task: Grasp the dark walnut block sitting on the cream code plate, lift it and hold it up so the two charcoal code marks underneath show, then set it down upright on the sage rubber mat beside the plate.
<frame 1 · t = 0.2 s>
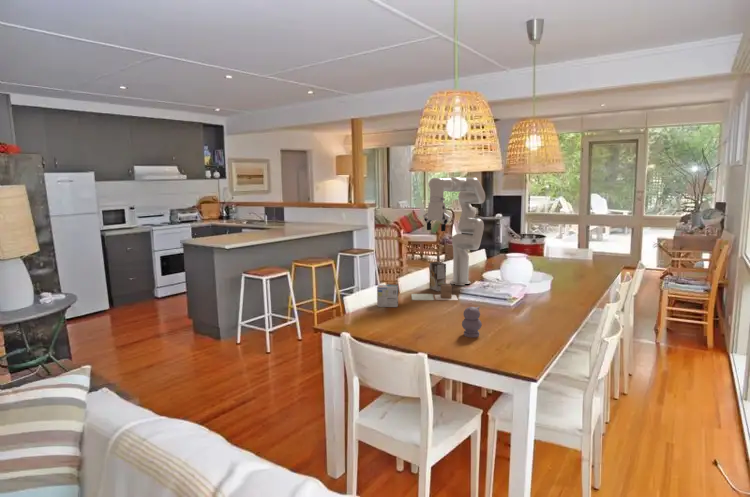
hand: (436, 230, 260), 37 cm above the table, tool pointing down, fingers open, 9 cm apart
light bulb box: (387, 306, 240), on the table
cat figurine: (471, 335, 193), on the table
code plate: (445, 297, 256), on the table
sage mat: (422, 297, 257), on the table
coffee box: (437, 289, 276), on the table
walnut block: (445, 297, 256), resting on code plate
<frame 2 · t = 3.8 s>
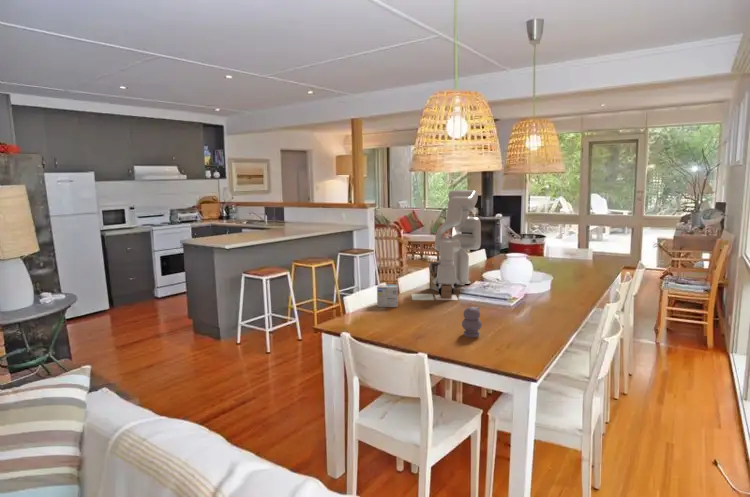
hand: (446, 294, 256), 2 cm above the table, tool pointing down, fingers closed on walnut block, 5 cm apart
walnut block: (445, 297, 256), resting on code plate, touching gripper
everything else where it was.
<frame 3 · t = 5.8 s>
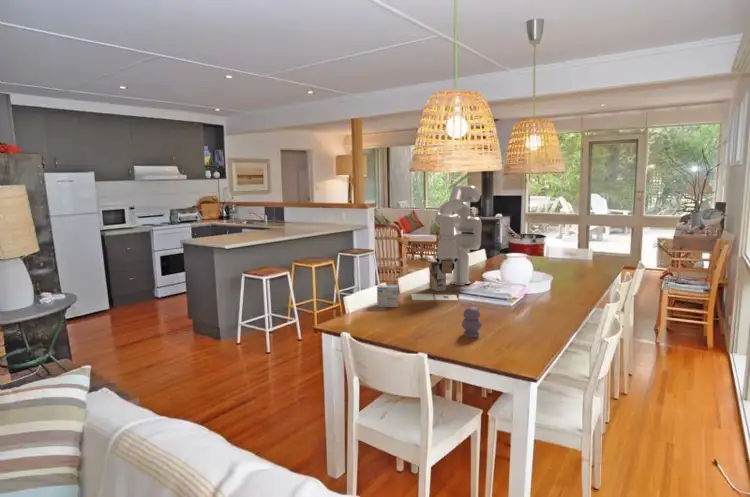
hand: (446, 269, 254), 16 cm above the table, tool pointing down, fingers closed on walnut block, 5 cm apart
walnut block: (446, 272, 255), point 14 cm above the table, touching gripper
everything else where it was.
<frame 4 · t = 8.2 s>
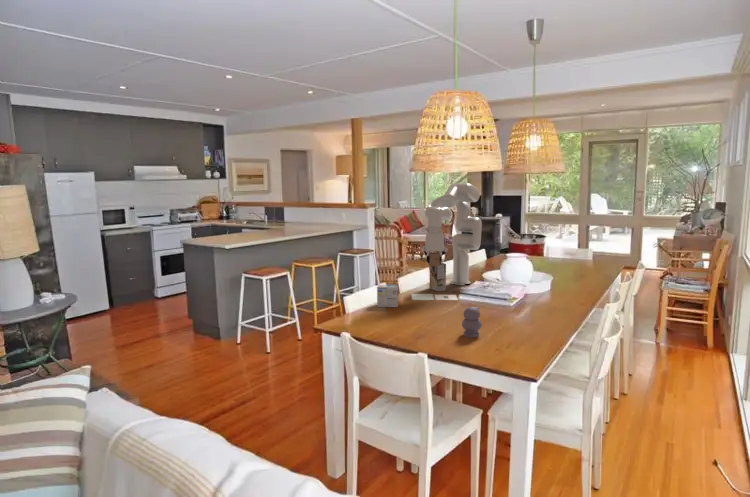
hand: (434, 262, 254), 20 cm above the table, tool pointing down, fingers closed on walnut block, 5 cm apart
walnut block: (434, 265, 254), point 18 cm above the table, touching gripper
everything else where it was.
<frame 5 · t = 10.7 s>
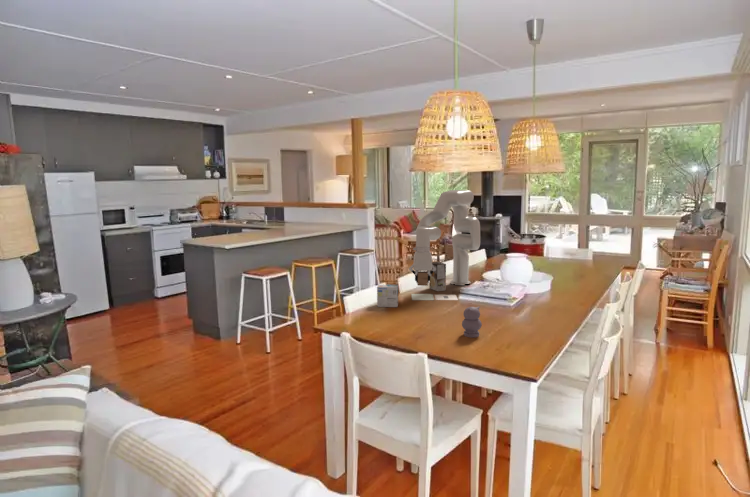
hand: (422, 281, 255), 9 cm above the table, tool pointing down, fingers closed on walnut block, 5 cm apart
walnut block: (422, 284, 256), point 7 cm above the table, touching gripper
everything else where it was.
when the fingers open (3 cm above the table, at t = 12.7 s): walnut block drops 1 cm, resting on sage mat.
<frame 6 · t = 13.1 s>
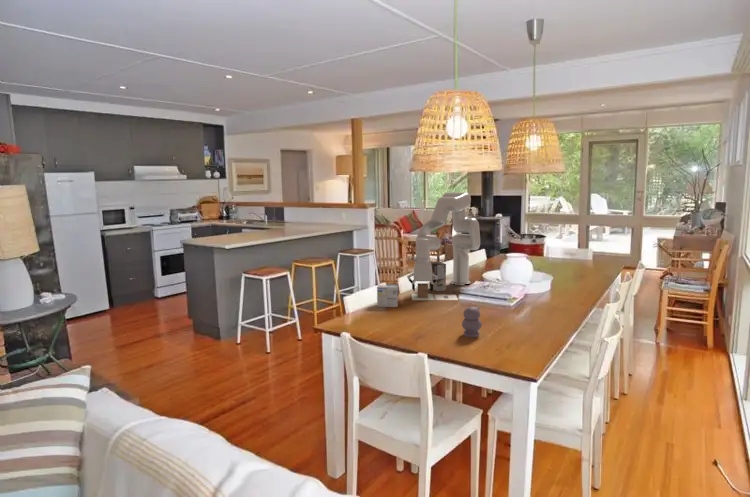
hand: (422, 290, 256), 4 cm above the table, tool pointing down, fingers open, 9 cm apart
walnut block: (422, 296, 257), resting on sage mat
everything else where it was.
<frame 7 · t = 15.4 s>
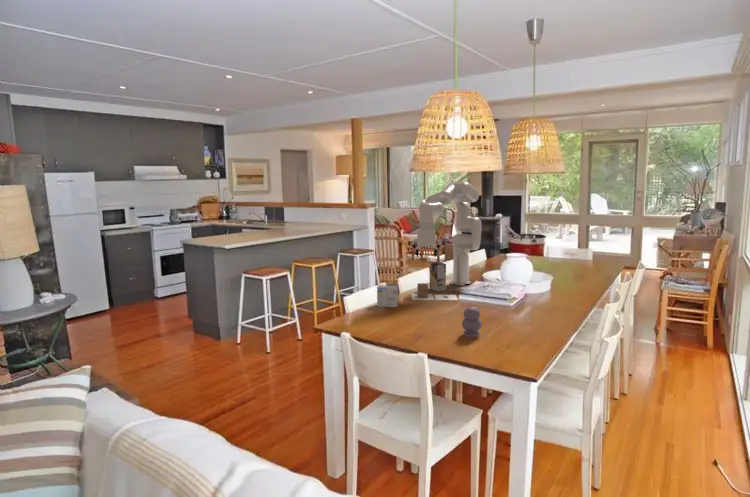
hand: (426, 256, 255), 23 cm above the table, tool pointing down, fingers open, 9 cm apart
nothing on the table moved.
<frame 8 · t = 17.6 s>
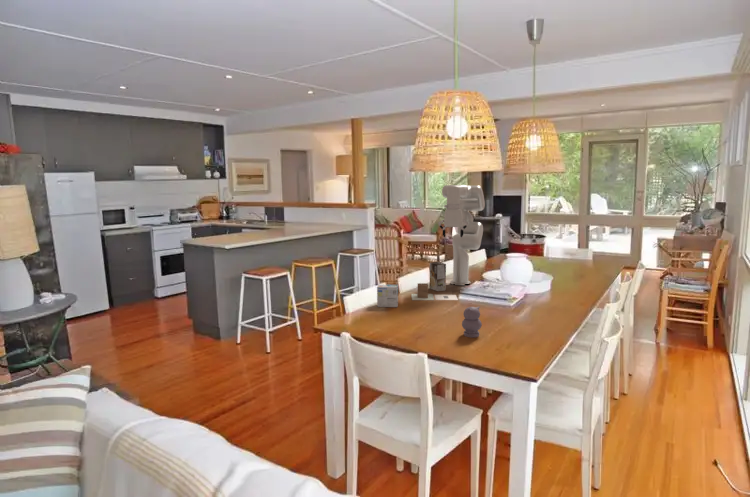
hand: (452, 236, 266), 32 cm above the table, tool pointing down, fingers open, 9 cm apart
nothing on the table moved.
at the end: walnut block inside the target area on the sage mat (0.1 cm from its centre), point 0.4 cm above the sage mat's base; walnut block tilted 0°; the gripper is holding nothing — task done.
